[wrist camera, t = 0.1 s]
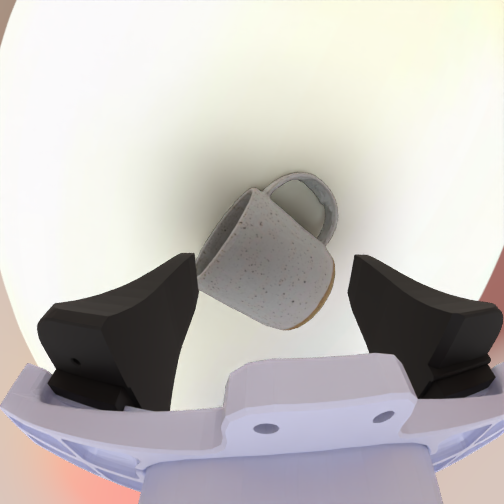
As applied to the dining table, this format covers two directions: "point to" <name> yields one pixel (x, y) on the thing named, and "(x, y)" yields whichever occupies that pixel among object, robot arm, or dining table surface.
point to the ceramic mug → (270, 258)
